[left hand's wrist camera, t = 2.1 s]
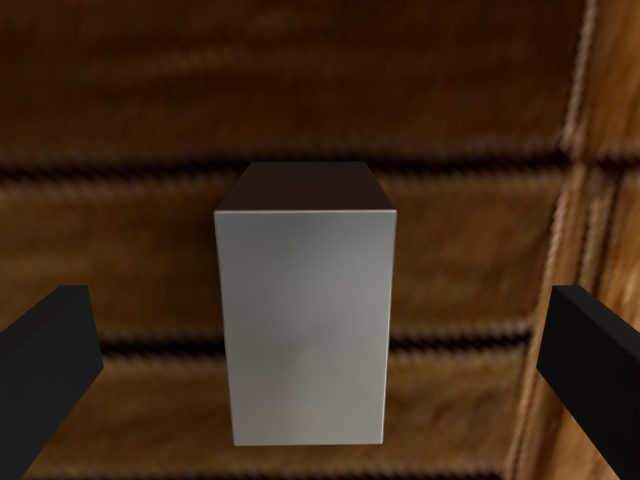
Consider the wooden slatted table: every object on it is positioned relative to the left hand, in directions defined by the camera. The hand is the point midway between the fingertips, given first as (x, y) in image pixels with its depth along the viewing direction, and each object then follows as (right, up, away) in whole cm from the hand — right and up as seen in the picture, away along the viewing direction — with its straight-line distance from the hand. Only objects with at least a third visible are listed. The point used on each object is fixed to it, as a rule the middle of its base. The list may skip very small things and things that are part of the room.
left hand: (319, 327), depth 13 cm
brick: (0, +2, +7) cm, 7 cm away
